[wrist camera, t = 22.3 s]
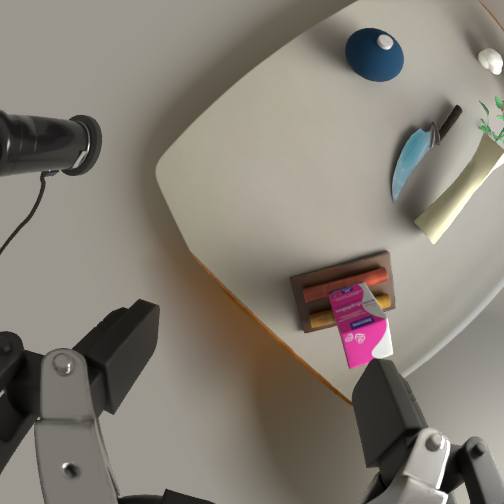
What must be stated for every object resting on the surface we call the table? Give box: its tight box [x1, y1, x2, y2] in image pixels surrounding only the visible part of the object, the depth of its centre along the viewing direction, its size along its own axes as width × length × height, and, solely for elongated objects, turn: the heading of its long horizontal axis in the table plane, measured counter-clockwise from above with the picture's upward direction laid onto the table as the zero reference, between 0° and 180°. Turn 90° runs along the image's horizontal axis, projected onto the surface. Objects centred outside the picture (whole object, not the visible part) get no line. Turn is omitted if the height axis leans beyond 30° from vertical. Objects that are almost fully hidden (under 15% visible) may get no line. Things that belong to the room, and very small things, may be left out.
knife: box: [392, 105, 462, 203], centre depth 33 cm, size 22×2×5 cm
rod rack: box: [290, 251, 395, 333], centre depth 40 cm, size 16×10×3 cm, turn 107°
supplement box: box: [328, 281, 393, 369], centre depth 33 cm, size 6×6×12 cm
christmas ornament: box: [345, 28, 404, 82], centre depth 27 cm, size 8×8×10 cm
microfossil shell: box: [478, 48, 503, 74], centre depth 24 cm, size 4×5×6 cm
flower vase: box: [414, 96, 504, 244], centre depth 29 cm, size 12×12×35 cm
